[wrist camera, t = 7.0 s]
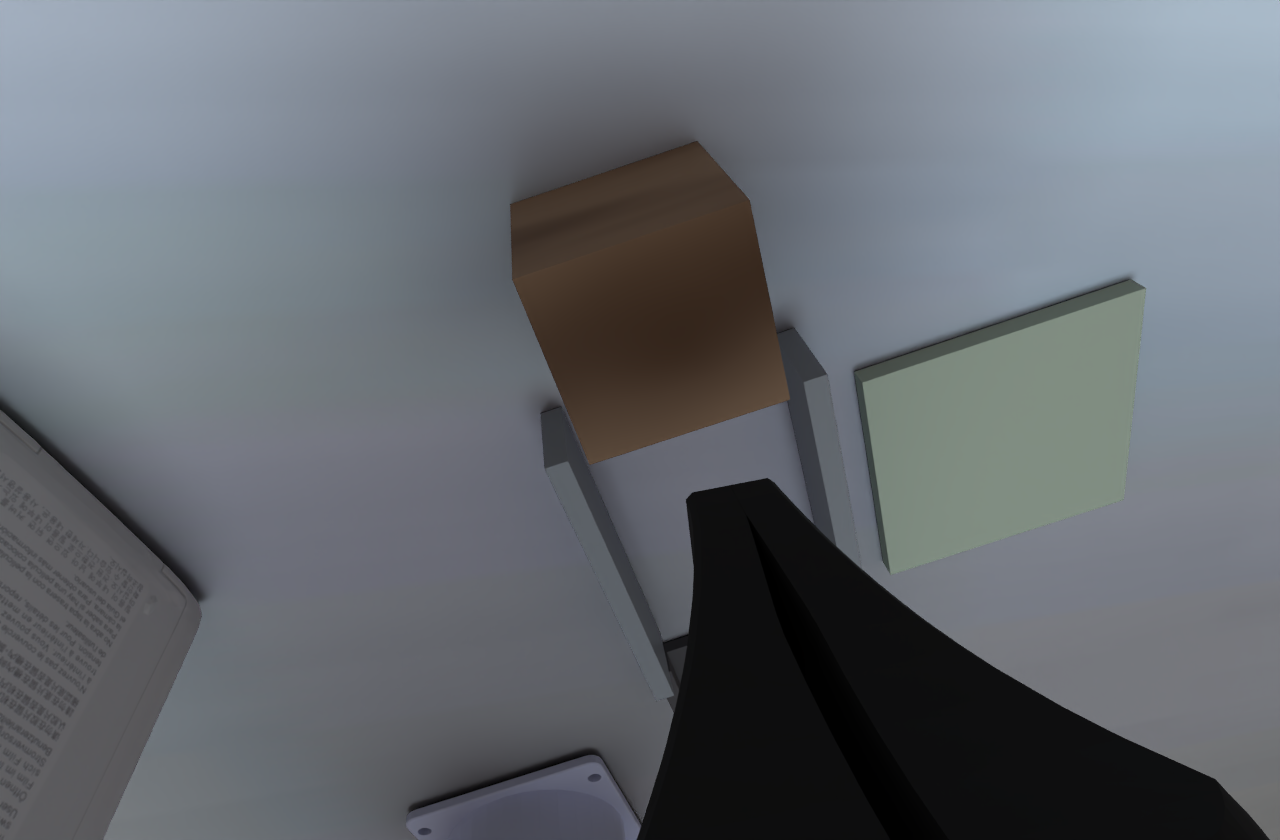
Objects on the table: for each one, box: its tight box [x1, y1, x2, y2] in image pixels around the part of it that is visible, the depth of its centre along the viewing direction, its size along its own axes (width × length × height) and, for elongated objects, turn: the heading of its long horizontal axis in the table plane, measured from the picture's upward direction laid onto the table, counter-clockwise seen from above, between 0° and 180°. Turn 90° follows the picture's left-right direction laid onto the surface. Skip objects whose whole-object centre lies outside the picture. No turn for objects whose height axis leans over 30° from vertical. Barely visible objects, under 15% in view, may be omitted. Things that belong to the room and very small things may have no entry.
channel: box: [541, 328, 862, 701], centre depth 22 cm, size 10×7×2 cm
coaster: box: [854, 280, 1146, 575], centre depth 23 cm, size 8×8×1 cm
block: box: [510, 141, 790, 465], centre depth 17 cm, size 4×4×4 cm
